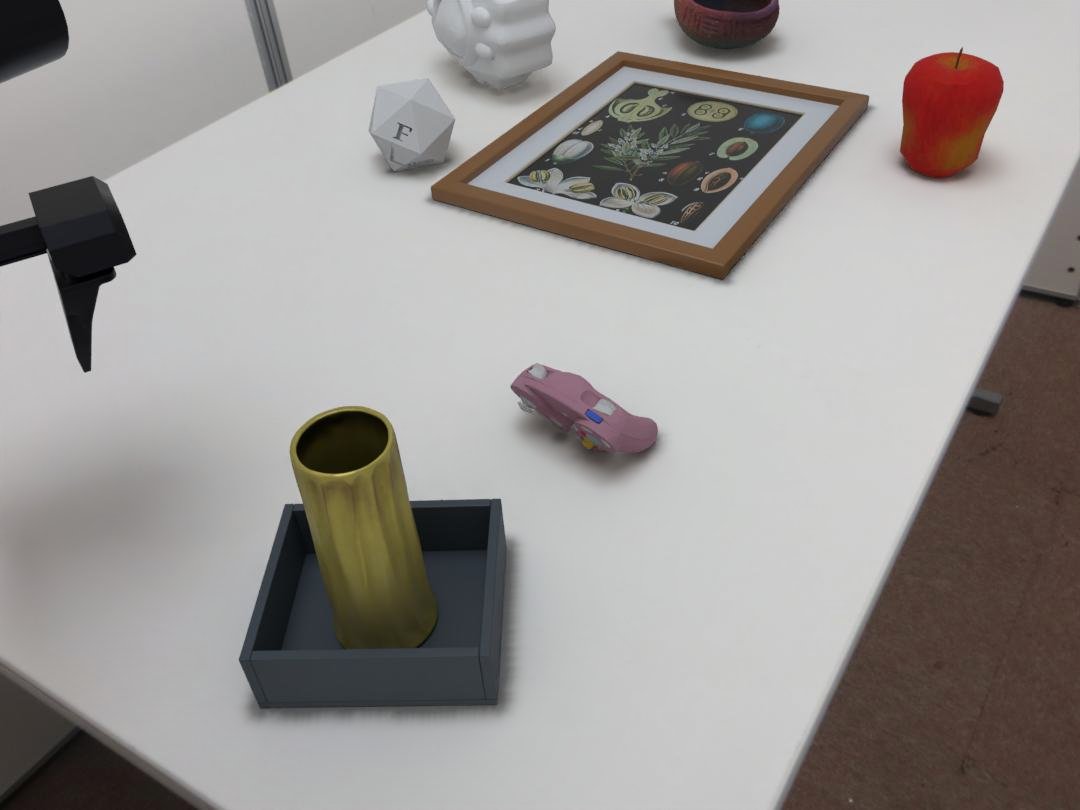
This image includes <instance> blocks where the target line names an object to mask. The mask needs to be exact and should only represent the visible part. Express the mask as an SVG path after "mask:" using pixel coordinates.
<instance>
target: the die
mask: <svg viewBox="0 0 1080 810" xmlns="http://www.w3.org/2000/svg"><path fill="white" fill-rule="evenodd" d="M455 123H456V118H455V116H454V114H453V113H452V111H451V110H450V109H449V107H448V105H447V104H446V102H445V100H444V99H443V98H442V96H441V94H440V93H439V91H438V90H437V88H436V87H435V85H434V84H433V82H432V80H431V79H430V78H429V77H425V78H419V79H414V80H412V79H411V80H407V81H406V80H405V81H401V82H395V83H388V84H382V85H377V86H376V91H375V96H374V102H373V105H372V110H371V115H370V121H369V126H368V130H367V132H368V133H369V134H370V136H371V137H372V139H373V141H374V142H375V144H376V145H377V147H378V149H379V151H380V152H381V153H382V155H383V157H384V158H385V160H386V161H387V163H388V164H389V167H390V168H391V169H392V172H394V173H395V172H401V171H405V170H411V169H418V168H422V167H423V168H424V167H428V166H435V165H439V164H444V163H445V160H446V157H447V154H448V153H447V152H448V148H449V145H450V143H451V138H452V134H453V130H454V128H455V127H454V126H455Z"/></svg>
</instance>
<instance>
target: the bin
mask: <svg viewBox="0 0 1080 810" xmlns="http://www.w3.org/2000/svg"><path fill="white" fill-rule="evenodd" d="M409 501H410V504H411V508H412V512H413V516H414V520H415V524H416V528H417V532H418V536H419V540H420V545H421V550H422V555H423V560H424V565H425V569H426V573H427V576H428V580H429V583H430V585H431V588H432V590H433V592H434V594H435V597H436V600H437V605H438V618H437V621H436V623H435V626H434V628H433V630H432V631H431V633H430V635H429V636H428V637H427V638H426V640H425V641H424V642H423V643H421V644H420V645H419V646H418V647H416V648H388V649H345V648H344V647H343V646H342V645H341V643H340V642H339V640H338V638H337V636H336V633H335V630H334V624H333V611H332V608H331V605H330V602H329V599H328V597H327V594H326V590H325V587H324V583H323V579H322V575H321V571H320V567H319V563H318V559H317V555H316V551H315V547H314V542H313V538H312V534H311V531H310V526H309V523H308V519H307V516H306V512H305V508H304V505H303V503H285V504H284V505H283V510H282V513H281V516H280V520H279V523H278V526H277V529H276V532H275V536H274V540H273V542H272V546H271V550H270V553H269V557H268V560H267V563H266V566H265V570H264V573H263V577H262V580H261V584H260V587H259V590H258V594H257V596H256V601H255V604H254V607H253V609H252V610H253V611H252V614H251V617H250V620H249V624H248V628H247V630H246V634H245V637H244V640H243V644H242V648H241V651H240V654H239V658H238V662H239V664H240V666H241V669H242V671H243V673H244V676H245V678H246V680H247V683H248V685H249V687H250V689H251V692H252V694H253V696H254V699H255V701H256V703H257V705H258V708H261V709H262V708H263V709H265V708H266V709H267V708H270V709H271V708H329V707H330V708H332V707H333V708H338V707H388V706H389V707H395V706H396V707H399V706H400V707H401V706H402V707H403V706H464V705H466V706H473V705H474V706H475V705H498V701H499V686H500V670H501V669H500V667H501V652H502V636H503V635H502V634H503V617H504V600H505V584H506V570H507V569H506V568H507V567H506V566H507V553H508V552H507V551H508V550H507V549H508V547H507V537H506V531H505V530H506V529H505V521H504V513H503V505H502V498H474V499H473V498H472V499H471V498H470V499H469V498H468V499H435V500H434V499H429V500H428V499H427V500H409Z"/></svg>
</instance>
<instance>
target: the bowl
mask: <svg viewBox="0 0 1080 810" xmlns="http://www.w3.org/2000/svg"><path fill="white" fill-rule="evenodd" d="M673 9H674V15H675V19H676V21H677V23H678V26H679V27H680V29H681V31H682V32H683V33H684V34H685V36H686V37H688V38H689V39H690V40H691V41H693V42H694V43H696V44H698V45H701V46H703V47H707V48H712V49H716V50H717V49H718V50H727V51H728V50H735V49H740V48H741V49H742V48H746V47H748V46H751V45H755V44H756V43H758V42H761V40H764V39H765V38H766V37H767V36H769V35H770V34H771V33H772V31H773V30H774V28H775V27H776V24H777V22H778V19H779V16H780V9H781V8H780V0H673Z"/></svg>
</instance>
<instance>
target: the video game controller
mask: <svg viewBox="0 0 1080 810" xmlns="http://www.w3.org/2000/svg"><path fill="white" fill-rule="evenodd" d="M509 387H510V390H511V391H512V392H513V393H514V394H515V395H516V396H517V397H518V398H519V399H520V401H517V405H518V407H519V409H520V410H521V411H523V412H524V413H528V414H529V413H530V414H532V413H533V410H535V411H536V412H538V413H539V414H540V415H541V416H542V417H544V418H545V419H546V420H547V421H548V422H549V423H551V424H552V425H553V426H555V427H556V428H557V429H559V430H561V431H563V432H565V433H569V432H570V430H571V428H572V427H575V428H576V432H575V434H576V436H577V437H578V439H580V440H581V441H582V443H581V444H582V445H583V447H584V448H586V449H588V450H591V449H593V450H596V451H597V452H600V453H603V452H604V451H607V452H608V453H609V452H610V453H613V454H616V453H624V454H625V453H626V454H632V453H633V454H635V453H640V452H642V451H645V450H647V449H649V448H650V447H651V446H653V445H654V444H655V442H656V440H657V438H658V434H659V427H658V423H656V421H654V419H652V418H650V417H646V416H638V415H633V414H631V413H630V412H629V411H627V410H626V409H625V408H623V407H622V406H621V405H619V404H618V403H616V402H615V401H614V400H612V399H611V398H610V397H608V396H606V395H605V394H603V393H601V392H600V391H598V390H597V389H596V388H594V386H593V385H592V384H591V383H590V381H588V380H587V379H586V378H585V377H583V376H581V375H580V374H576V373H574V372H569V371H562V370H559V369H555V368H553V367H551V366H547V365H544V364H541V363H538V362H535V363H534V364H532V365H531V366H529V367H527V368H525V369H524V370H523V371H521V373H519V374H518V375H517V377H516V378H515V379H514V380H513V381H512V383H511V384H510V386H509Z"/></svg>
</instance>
